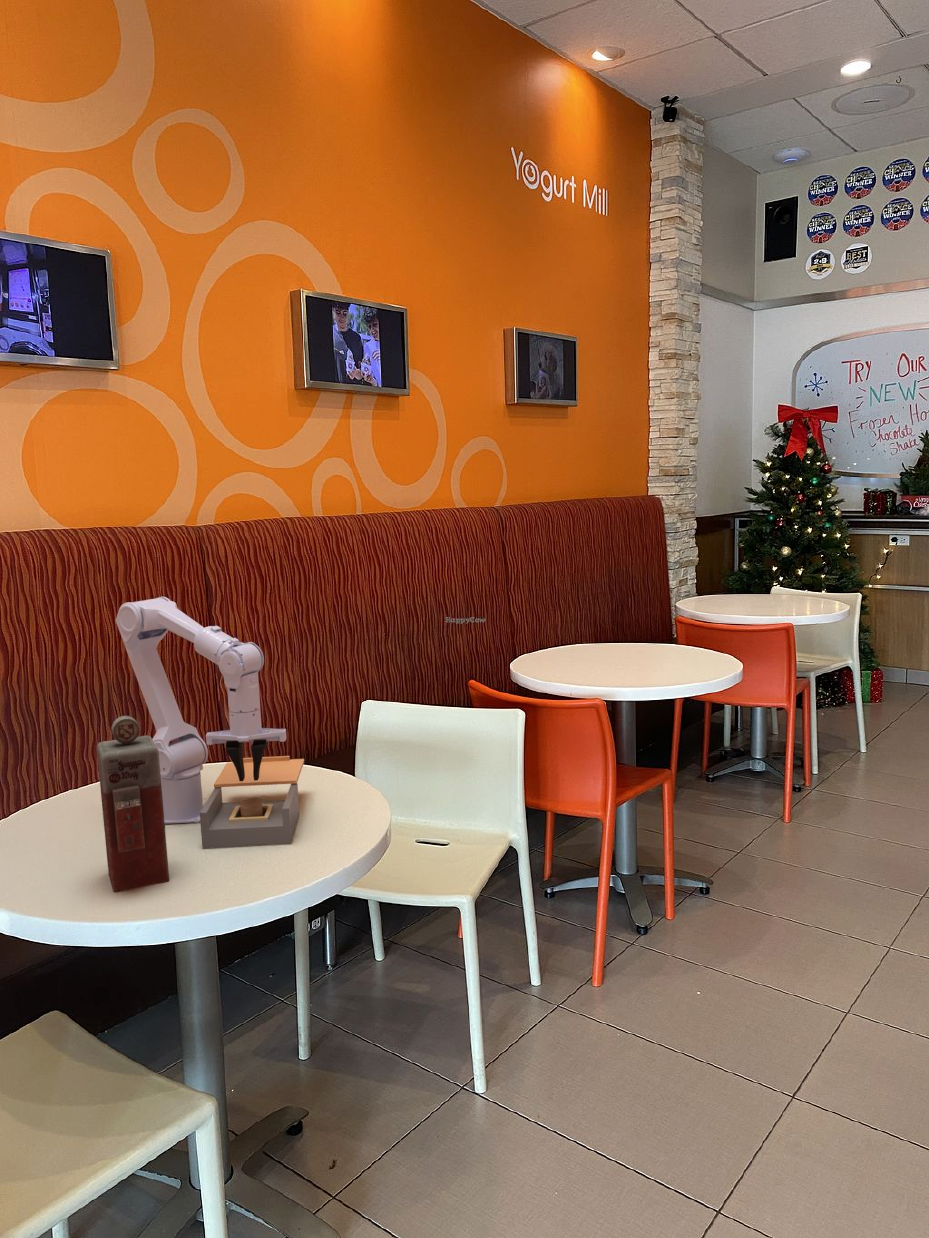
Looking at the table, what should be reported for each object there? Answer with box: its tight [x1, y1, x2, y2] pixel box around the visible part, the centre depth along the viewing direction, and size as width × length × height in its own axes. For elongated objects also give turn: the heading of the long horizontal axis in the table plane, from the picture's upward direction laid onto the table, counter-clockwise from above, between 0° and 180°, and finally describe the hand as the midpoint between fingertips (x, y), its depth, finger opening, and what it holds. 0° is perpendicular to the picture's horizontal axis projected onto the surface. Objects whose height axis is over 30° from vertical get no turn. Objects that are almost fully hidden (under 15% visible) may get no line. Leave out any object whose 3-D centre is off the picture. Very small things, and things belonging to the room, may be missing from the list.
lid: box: [213, 755, 305, 788], centre depth 190 cm, size 16×14×1 cm
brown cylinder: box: [239, 797, 263, 817], centre depth 178 cm, size 4×4×6 cm
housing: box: [199, 782, 300, 849], centre depth 178 cm, size 16×14×7 cm
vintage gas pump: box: [96, 715, 170, 893], centre depth 156 cm, size 9×11×28 cm
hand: (249, 779), depth 176 cm, fingers closed
